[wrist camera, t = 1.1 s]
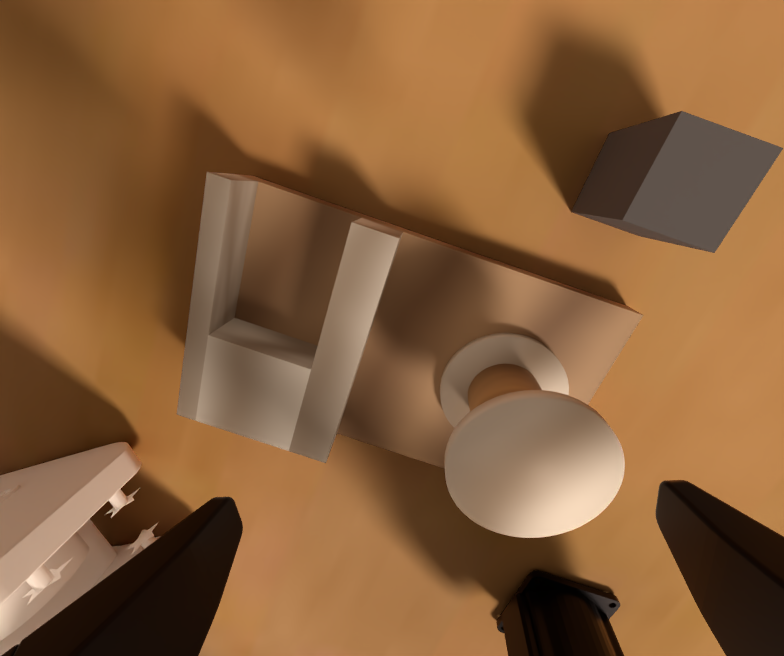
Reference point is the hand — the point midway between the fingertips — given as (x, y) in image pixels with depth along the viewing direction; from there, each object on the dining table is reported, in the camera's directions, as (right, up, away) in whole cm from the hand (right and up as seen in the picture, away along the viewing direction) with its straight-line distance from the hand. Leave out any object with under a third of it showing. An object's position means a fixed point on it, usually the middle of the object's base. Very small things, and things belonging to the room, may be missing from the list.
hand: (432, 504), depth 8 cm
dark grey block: (+10, +10, +9) cm, 17 cm away
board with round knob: (0, +3, +13) cm, 13 cm away
